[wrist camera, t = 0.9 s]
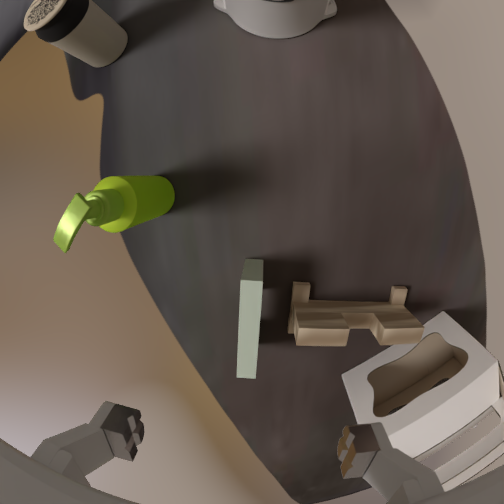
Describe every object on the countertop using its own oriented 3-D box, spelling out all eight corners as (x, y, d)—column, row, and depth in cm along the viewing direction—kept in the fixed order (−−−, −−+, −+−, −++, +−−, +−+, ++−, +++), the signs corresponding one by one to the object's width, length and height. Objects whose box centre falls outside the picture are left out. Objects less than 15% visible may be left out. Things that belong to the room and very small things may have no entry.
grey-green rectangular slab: (245, 258, 42) (240, 279, 33) (263, 259, 42) (262, 281, 33) (241, 342, 45) (236, 377, 36) (257, 343, 45) (255, 378, 36)
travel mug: (131, 54, 34) (70, 6, 17) (90, 75, 35) (20, 43, 18) (125, 20, 33) (71, -30, 15) (86, 42, 33) (24, 4, 16)
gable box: (444, 308, 43) (541, 401, 15) (455, 355, 45) (528, 444, 18) (339, 374, 46) (381, 510, 19) (363, 413, 49) (400, 526, 22)
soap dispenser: (126, 204, 40) (37, 227, 21) (153, 167, 39) (70, 164, 20) (154, 229, 41) (76, 270, 22) (183, 193, 40) (114, 208, 20)
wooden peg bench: (293, 281, 42) (300, 307, 33) (404, 286, 42) (431, 309, 33) (287, 329, 44) (292, 362, 35) (393, 330, 44) (415, 359, 35)
